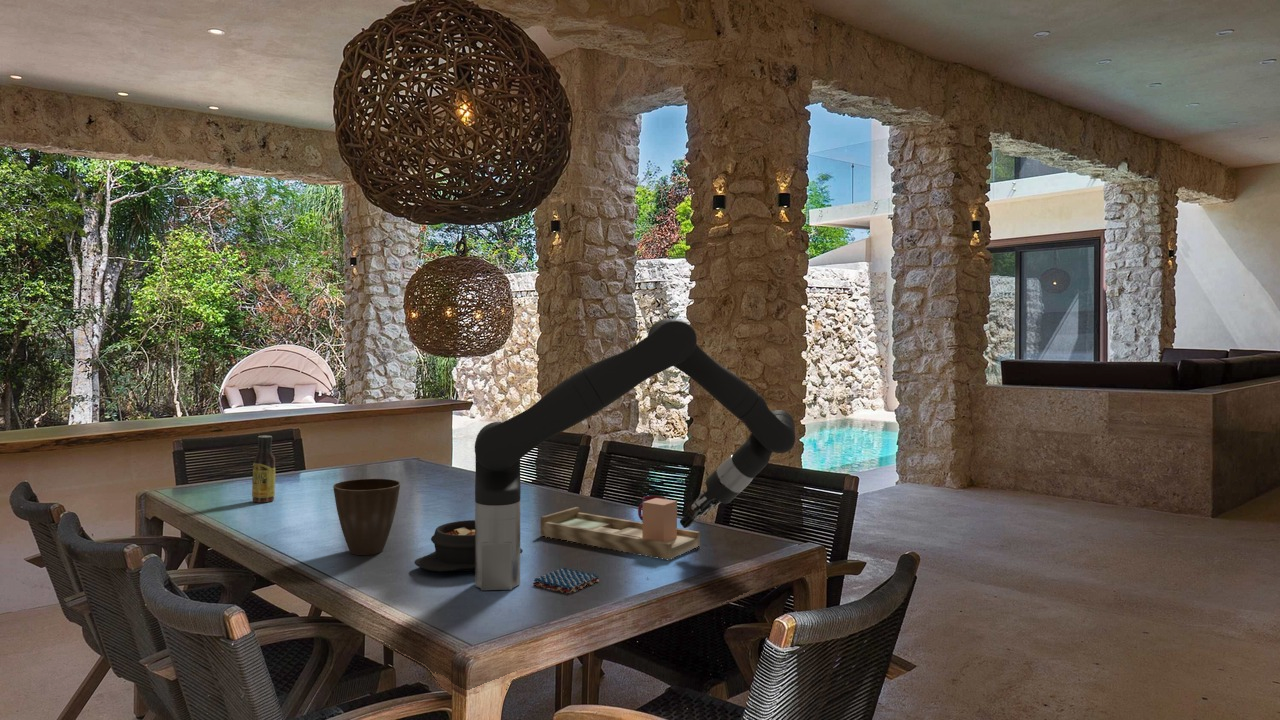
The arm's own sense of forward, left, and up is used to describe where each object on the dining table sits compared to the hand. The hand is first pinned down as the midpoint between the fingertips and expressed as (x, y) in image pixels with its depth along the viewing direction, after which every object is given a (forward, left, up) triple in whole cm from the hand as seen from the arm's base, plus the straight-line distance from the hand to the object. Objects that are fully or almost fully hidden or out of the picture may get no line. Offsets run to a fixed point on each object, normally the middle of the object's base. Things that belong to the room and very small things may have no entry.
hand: (683, 524), depth 193 cm
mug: (+30, +4, -7) cm, 31 cm away
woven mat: (-21, +28, -8) cm, 36 cm away
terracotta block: (+4, +5, -4) cm, 8 cm away
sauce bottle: (+68, +117, -7) cm, 136 cm away
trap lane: (+12, +14, -7) cm, 19 cm away
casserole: (-5, +49, -7) cm, 50 cm away
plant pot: (+8, +74, -7) cm, 75 cm away
